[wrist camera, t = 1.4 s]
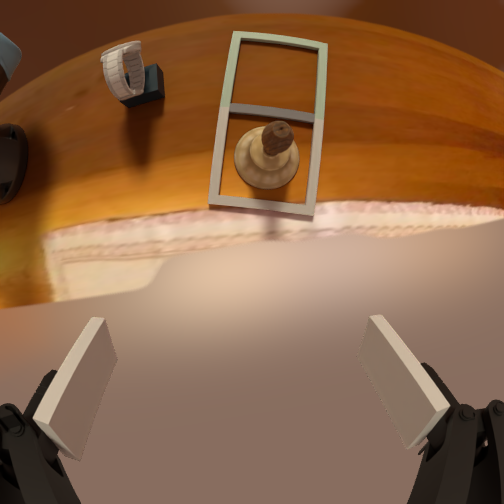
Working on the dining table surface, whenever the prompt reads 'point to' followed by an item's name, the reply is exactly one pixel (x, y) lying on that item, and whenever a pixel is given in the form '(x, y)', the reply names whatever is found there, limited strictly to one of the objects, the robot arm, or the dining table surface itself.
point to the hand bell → (267, 156)
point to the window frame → (314, 119)
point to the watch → (132, 75)
